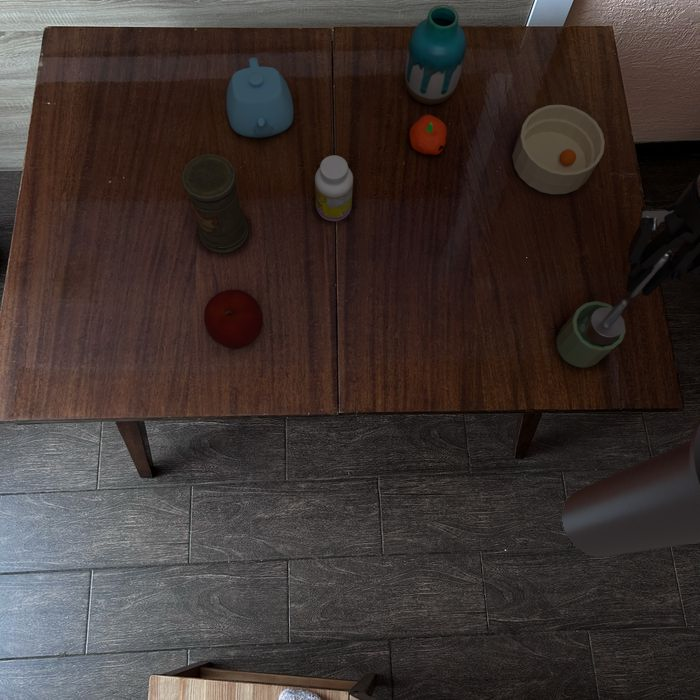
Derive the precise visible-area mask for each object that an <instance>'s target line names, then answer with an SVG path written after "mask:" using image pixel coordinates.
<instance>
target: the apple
mask: <svg viewBox="0 0 700 700" xmlns="http://www.w3.org/2000/svg"><path fill="white" fill-rule="evenodd" d="M203 322H204V323H203V324H204V327H205V330H206V332H207V334H208V335H209V336H210V338H211V339H212V340H213V341H214V342H216V343H217V344H219V345H220V346H222V347H225V348H226V349H227V348H228V349H231V350H232V349H233V350H239V349H244V348H246V347H248V346H249V345H251V344H253V343H254V342H255V341H256V340H257V339H258V337H259V336H260V334H261V332H262V329H263V323H264V317H263V311H262V309H261V306H260V304H259V303H258V301H257V300H256V298H254V296H252V295H251V294H250V293H248V292H246V291H244V290H241V289H234V288H233V289H225V290H223V291H219V292H218V293H216V294H215V295H213V296H212V297H211V298H210V299H209V300H208V302H207V303H206V305H205V308H204V313H203Z"/></svg>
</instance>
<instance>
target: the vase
mask: <svg viewBox="0 0 700 700" xmlns="http://www.w3.org/2000/svg"><path fill="white" fill-rule="evenodd" d="M466 39H467V37H466V34H465V31H464V30H463V28H462V27H461V25H460V24H459V14H458V12H457V10H456V9H455V8H453V7H452V6H450V5H446V4H439V5H435V6H433V7H432V8H431V9H430V10H429V11H428V14H427V17H426V19H425V18H424V19H423V20H422V21H420V22H419V23H418V24H417V25H416V26H415V27H414V30H413V31H412V33H411V37H410V39H409V42H408V47H407V54H406V59H405V70H404V80H405V86H406V89H407V92H408V93H409V95H410V97H411V98H413V99H414V100H415V101H416V102H418V103H420V104H423V105H428V106H433V105H434V106H435V105H439V104H442V103H444V102H445V101H447V100H448V99H449V98H450V97H451V96H453V94H454V92H455V91H456V88H457V86H458V83H459V81H460V78H461V74H462V71H463V66H464V63H465V57H466V52H467V40H466Z"/></svg>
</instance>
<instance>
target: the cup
mask: <svg viewBox="0 0 700 700" xmlns="http://www.w3.org/2000/svg"><path fill="white" fill-rule="evenodd" d="M603 307H607V308H611V309H612V308H613V307H614V306H613V305H611V304H609V303H606V302H602V301H598V300H595V301H590V302H585V303H584V304H582V305H581V306H580V307H578V308H577V309H576V310H575V312H574V313H572V315H571V316H570V317H569V318H568V319H567V321H566V322H564V324H563V325H562V326H561V328H560V330H559V332H558V333H557V336H556V342H555V343H556V349H557V352H558V353H559V355H560V357H561V358H562V359H563V360H564V361H565V362H566V363H567V364H569V365H570V366H574V367H575V368H591V367H593V366H596V365H597V364H598V363H599V362H601V361H602V360H603V359H604V358H605V357H606V356H608V355H609V354H610V353H611V352H612V351H613V350H614V349H615V348H617V346H619V345H620V344H621V343H622V342H623V340H624V338H625V334H626V332H627V331H626V323H625V322H624V330H623V332H622V333H621V334H620V335H619V336H618V337H617V338H616V339H615V341H614V342H612V343H610V344H607V345H601V344H597V343H595V342H593V341H592V340H591V339H590V338H589V337H588V336H587V334H586V331H585V324H586V322H587V320H588V319H589V318H590V316H591V315H592V314H593V312H594V311H595V310H597V309H599V308H603ZM623 320H624V318H623ZM624 321H625V320H624Z"/></svg>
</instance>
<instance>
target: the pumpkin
mask: <svg viewBox="0 0 700 700" xmlns="http://www.w3.org/2000/svg"><path fill="white" fill-rule="evenodd" d="M447 131H448V129H447V126H446V124H445V122H444V121H442V120H441V119H440V118H438V117H436V116H434V115H431V114H425V115H423V116H420V118H419V119H418V120H417V121H415V123H413V124H412V126H411V127H410V128H409V135H408V136H409V141H410V145H411V147H412V149H414V150H415V151H416V152H418V153H419V154H420V153H421V154H422V155H432V156H438V155H439V154H441V153H442V152H443V150H444V149H445V147H446V146H447V143H448V141H447V139H448V133H447Z"/></svg>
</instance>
